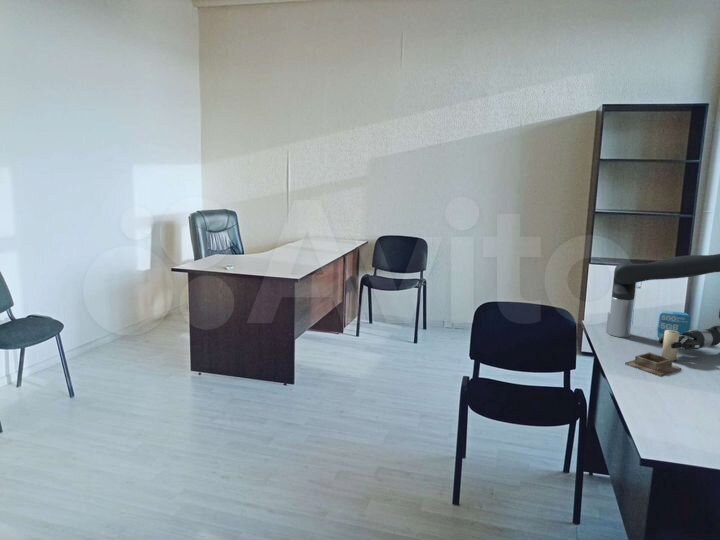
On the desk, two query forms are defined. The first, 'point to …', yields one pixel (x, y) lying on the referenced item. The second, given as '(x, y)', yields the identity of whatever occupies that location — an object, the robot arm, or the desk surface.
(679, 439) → the desk surface
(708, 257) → the robot arm
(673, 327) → the data package
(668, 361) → the roll stand
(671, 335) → the paper roll
